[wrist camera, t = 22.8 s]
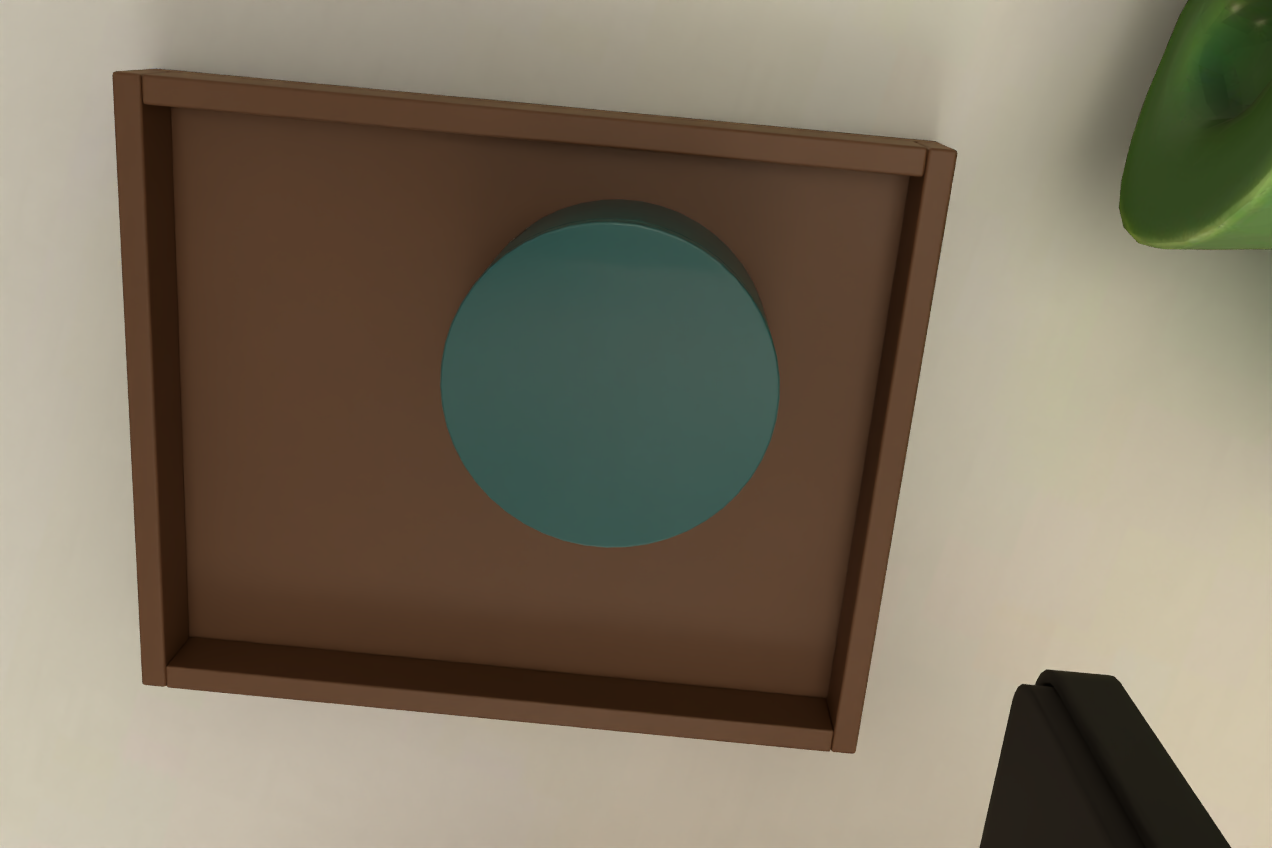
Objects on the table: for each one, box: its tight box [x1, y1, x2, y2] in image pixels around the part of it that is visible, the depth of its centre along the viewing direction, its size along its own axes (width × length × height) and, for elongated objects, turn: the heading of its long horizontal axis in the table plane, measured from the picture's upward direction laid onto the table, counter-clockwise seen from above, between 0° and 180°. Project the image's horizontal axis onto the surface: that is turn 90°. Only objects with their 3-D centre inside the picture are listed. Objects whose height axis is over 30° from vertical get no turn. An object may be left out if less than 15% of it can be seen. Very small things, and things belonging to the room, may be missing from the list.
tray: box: [113, 69, 957, 754], centre depth 27 cm, size 17×14×2 cm
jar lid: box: [440, 199, 780, 548], centre depth 25 cm, size 7×7×3 cm
